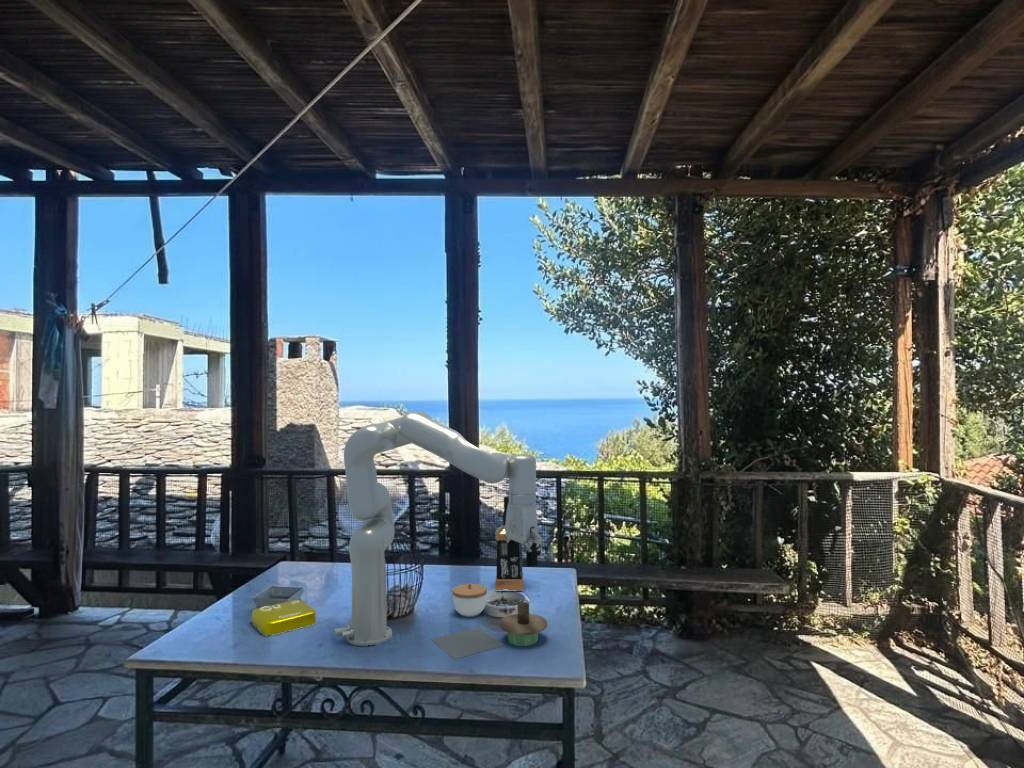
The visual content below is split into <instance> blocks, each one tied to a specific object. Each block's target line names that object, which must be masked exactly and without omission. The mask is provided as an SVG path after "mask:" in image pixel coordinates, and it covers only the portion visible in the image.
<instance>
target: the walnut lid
mask: <svg viewBox="0 0 1024 768" xmlns="http://www.w3.org/2000/svg"><path fill="white" fill-rule="evenodd" d="M499 627H500V629H501V630H502V631H504V632H506V633H507V634H508V633H512V634H519V635H527V634H535V633H538V634H539V633H541V632H543V631H545V630H546V629H547V627H548V621H547V619H546V618H544V617H543V616H541V615H538V614H534V613H530V603H529V602H527V601H520V602H517V613H515V614H510V615H507V616H504V617H502V618H501V620H500V622H499Z"/></svg>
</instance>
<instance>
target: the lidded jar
mask: <svg viewBox="0 0 1024 768" xmlns="http://www.w3.org/2000/svg"><path fill="white" fill-rule="evenodd" d="M451 590H452V602H453V606H454V608H455V611H456V612H457V613H458V614H459V615H460V616H463V617H467V618H468V617H470V618H471V617H477V616H479V615H480V614H481V613H482V612H483V610H484V609H485V606H486V605H487V598H488V596H487V592H488V588H487V587H486V586H485V585H483V584H478V583H470V582H469V583H464V584H460V585H456V586H455V587H453V588H452V589H451Z"/></svg>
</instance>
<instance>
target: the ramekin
mask: <svg viewBox="0 0 1024 768" xmlns="http://www.w3.org/2000/svg"><path fill="white" fill-rule="evenodd" d="M507 639H508V642H509V643H510V644H512V645H514V646H517V647H527V646H532V645H535V644H537V642H538V640H539V632H538V633H535V634H527V635H519V634H512V633H508V632H507Z"/></svg>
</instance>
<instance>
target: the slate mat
mask: <svg viewBox="0 0 1024 768" xmlns="http://www.w3.org/2000/svg"><path fill="white" fill-rule="evenodd" d="M430 640H431V641H432V642H433V643H434V644H436V645H437V646H438V647H440V649H441V650H443V651H444V652H445V653H447V655H449V656H450V657H452V659H454V660H457V659H461V658H464V657H468V656H472V655H475V654H479V653H482V652H487V651H490V650H494V649H497V648H502V647H505V646H506V645H505V644H503V642H500V641H499V640H497V639H496V638H495V637H493V636H492V635H490V634H488V633H487V632H486V631H484V630H483V629H481V628H480V627H478V626H477V627H473V628H469V629H465V630H461V631H457V632H454V633H453V632H452V633H449V634H446V635H445V634H444V635H441V636H437V637H433V638H430Z"/></svg>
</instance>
